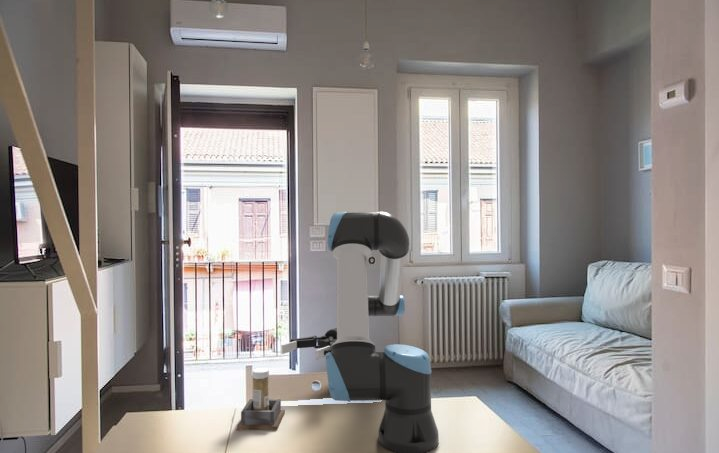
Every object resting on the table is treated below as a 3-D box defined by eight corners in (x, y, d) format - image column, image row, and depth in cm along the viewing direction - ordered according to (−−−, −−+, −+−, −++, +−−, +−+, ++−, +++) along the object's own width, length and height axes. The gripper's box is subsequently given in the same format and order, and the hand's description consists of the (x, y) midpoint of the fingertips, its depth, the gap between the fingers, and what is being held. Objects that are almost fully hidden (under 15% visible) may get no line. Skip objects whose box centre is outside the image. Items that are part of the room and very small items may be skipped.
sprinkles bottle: (272, 418, 125) (271, 370, 125) (256, 422, 122) (255, 373, 122) (265, 412, 129) (265, 366, 129) (250, 416, 126) (249, 369, 126)
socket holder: (284, 413, 131) (284, 397, 131) (277, 430, 120) (276, 413, 120) (247, 413, 131) (247, 397, 131) (236, 430, 120) (236, 413, 120)
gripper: (369, 354, 147) (332, 370, 129) (310, 345, 160) (269, 359, 143) (369, 331, 147) (331, 344, 129) (310, 324, 161) (268, 335, 143)
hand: (298, 352), depth 136 cm, fingers open, 13 cm apart
